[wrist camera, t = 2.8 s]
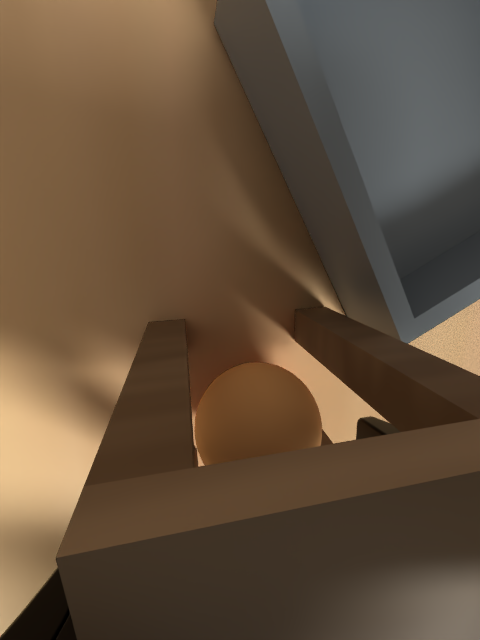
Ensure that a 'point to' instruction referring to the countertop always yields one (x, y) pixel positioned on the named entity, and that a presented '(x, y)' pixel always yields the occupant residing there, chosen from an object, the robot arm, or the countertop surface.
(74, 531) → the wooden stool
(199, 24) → the countertop surface
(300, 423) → the ball
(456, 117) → the tray
